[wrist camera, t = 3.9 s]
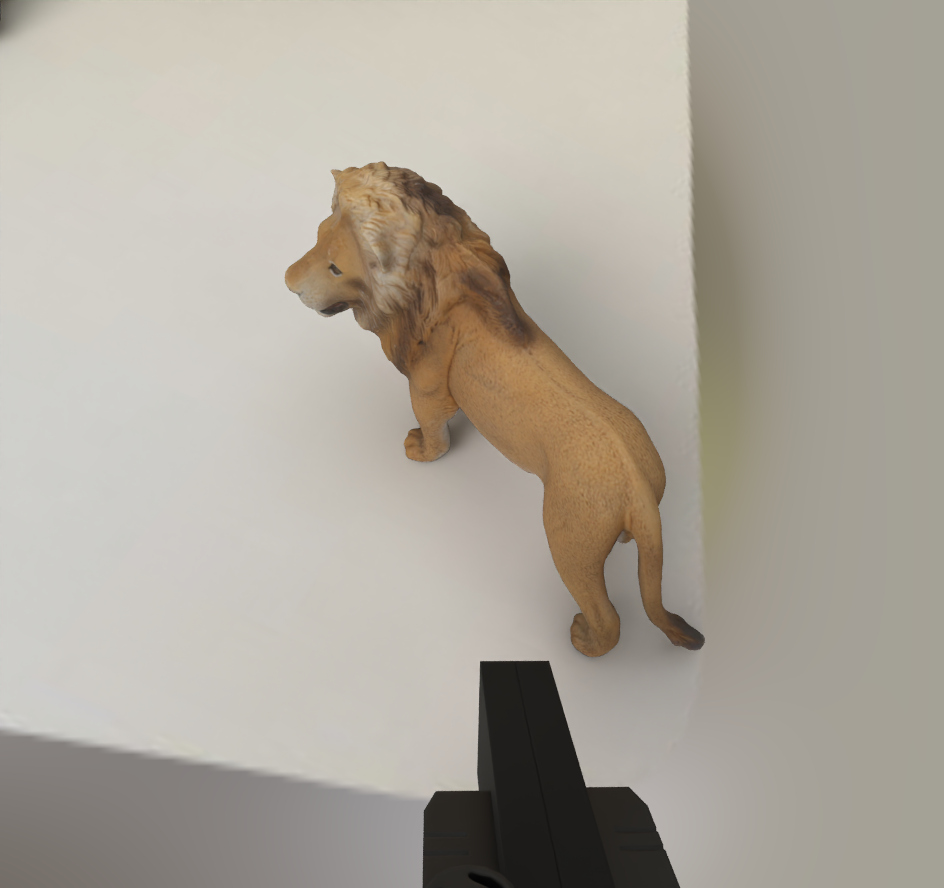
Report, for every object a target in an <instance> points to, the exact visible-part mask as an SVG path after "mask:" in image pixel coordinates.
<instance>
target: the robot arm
mask: <svg viewBox="0 0 944 888" xmlns="http://www.w3.org/2000/svg"><path fill="white" fill-rule="evenodd" d="M477 774H478V786H479V791H436V792H435V793H434V795H433V797H432V798H431V800H430V802H429V803H428V805H427V807H426V808H425V810H424V838H423V841H424V842H423V888H680V886H679V884H678V881H677V879H676V876H675V874H674V871H673V869H672V866H671V864H670V861H669V858H668V856H667V853H666V851H665V850H664V849H663V843H662V841H661V838H660V836H659V834H658V832H657V831H656V826H655V823H654V821H653V818H652V816H651V813H650V811H649V808H648V806H647V805H646V804H645V803H644V802H643V801H642V800H641V799H640V798H639V797H638V796H637V795H636V794H635V793H634V792H633V791H632V790H631V789H630V788H629V787H586V786H585V782H584V779H583V775H582V772H581V769H580V765H579V762H578V758H577V755H576V752H575V748H574V745H573V741H572V738H571V735H570V731H569V728H568V724H567V721H566V718H565V714H564V711H563V707H562V704H561V701H560V697H559V694H558V690H557V687H556V684H555V680H554V677H553V673H552V670H551V667H550V663H549V661H480V690H479V729H478V768H477Z"/></svg>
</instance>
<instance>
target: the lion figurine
mask: <svg viewBox="0 0 944 888" xmlns="http://www.w3.org/2000/svg"><path fill="white" fill-rule="evenodd" d="M331 173H332V174H333V176H334V179H335V183H336V184H335V190H334V195H333V198H332V206H331V208H332V212H333V214H332V215H331V216H329V217H328V218H327V219H325V220H324V221H323V222H322V223H321V224H320V225H319V227H318V240H317V244H316V245H315V247H314V248H312V249H311V250H310V251H308V252H307V253H306V254H305V255H304V256H303V257H302V258H301V259H300V260H298V261H297V262H295V263H294V264H292V265H291V266H290V267H289V268H288V269H287V271H286V273H285V283H286V285H287V287H288V288H289V290H290V291H292V292H293V293H296V294H298V296H299V298H300V299H301V301H302V302H303V303H304V304H305V305H306V306H307V307H309V308H311V309H314V310H316V311H317V313H318V314H319V315H321V316H323V317H331V316H333V315H335V314H337V313H339V312H343V311H345V310H347V309H349V308H353V313H354V317H355V320H356V321H357V322H358V324H359V325H360V327H362V328H363V329H365V330H370V331H371V332H373V333H375V334H376V335H377V336H378V337H379V338H380V340H381V345H382V349H383V351H384V353H385V355H386V357H387V358H388V360H389V361H391V362H392V363H393V364H394V365H395V366H396V368H397V369H398V370H399V371H400V372H401V373H402V374H404V375H405V376H407V378H408V380H409V389H410V396H411V402H412V407H413V411H414V414H415V416H416V419H417V421H418V422H419V424H420V428H418V429H411V430H410V431H409V432H408V437H407V438H406V439H405V442H404V446H405V448H406V456H407V457H408V458H410V459H412V460H416V461H421V462H427V461H434V460H437V459H438V458H440V457H441V456H442V455H443V454H445V453H446V452H448V450H449V446H450V431H449V425H448V420H450V419H451V418H453V417H454V416H455V414H456V412H457V411H458V409H459V408H461V409H462V411H463V412H464V413H465V414H466V416H467V417H468V418H469V420H470V421H471V422H472V423H473V424H474V426H475V427H476V428H477V429H478V430H479V432H480V433H481V434H482V435H483V436H484V437H485V438H486V439H487V440H488V441H489V442H490V443H491V444H492V445H493V446H495V447H496V448H497V449H498V450H499V451H500V452H501V453H502V454H503V455H504V456H505V457H507V458H508V459H509V460H510V461H511V462H513V463H514V464H516V465H517V466H518V467H520V468H521V469H523V470H525V471H526V472H528V473H533V474H536V475H537V476H538V477H539V478H540V479H541V480H542V482H543V484H544V502H543V522H544V528H545V531H546V535H547V539H548V543H549V548H550V551H551V554H552V558H553V561H554V563H555V566H556V568H557V570H558V572H559V574H560V576H561V578H562V580H563V582H564V584H565V585H566V587H567V588H568V590H569V591H570V593H571V594H572V596H573V598H574V599H575V601H576V602H577V604H578V605H579V607H580V609H581V611H582V613H579V614H576V615H575V616H574V621H573V624H572V626H571V628H570V632H571V641H572V644H573V645H574V647H575V648H576V649H577V650H578V651H580V652H581V653H583V654H585V655H587V656H590V657H597V656H601V655H603V654H605V653H607V652H609V651H610V650H611V649H613V648H614V647H615V646H616V644H617V643H618V641H619V638H620V618H619V616H618V614H617V612H616V610H615V608H614V606H613V605H612V603H611V602H610V600H609V598H608V595H607V591H606V586H605V579H604V564H605V560H606V558H607V556H608V555H609V553H610V552H611V550H612V548H613V546H614V544H615V542H616V541H617V542H619V543H622V544H624V543H628V542H630V541H631V539H635V541H636V543H637V547H638V578H639V585H640V592H641V597H642V602H643V606H644V609H645V612H646V614H647V616H648V618H649V619H650V621H651V622H652V623H653V624H654V625H656V626H657V627H659V628H660V629H661V630H662V631H663V632H664V633H665V634H666V636H667V637H668V638H669V639H670V641H671V642H672V643H673V644H674V645H675V646H682V647H684V648H687V649H689V650H698V649H701V647H702V646H703V644H704V641H705V638H704V636H703V635H702V634H701V633H700V632H698V631H697V630H696V629H694V628H693V627H691V626H690V625H689V624H687V623H686V622H685V620H684V619H683V618H681V617H680V616H678V615H676V614H672V613H670V612H668V611H666V610H665V609H664V607H663V605H662V596H661V580H662V565H663V544H662V527H661V519H660V512H659V508H658V506H659V504H660V501H661V499H662V497H663V493H664V489H665V485H666V477H665V470H664V466H663V463H662V460H661V458H660V456H659V454H658V452H657V450H656V448H655V446H654V445H653V443H652V441H651V439H650V437H649V436H648V434H647V432H646V430H645V428H644V426H643V425H642V423H641V422H640V420H639V419H638V418H637V417H636V416H635V415H634V413H633V412H631V411H630V410H629V409H628V408H626V407H625V406H623V405H622V404H620V403H619V402H618V401H616V400H615V399H613V398H612V397H610V396H609V395H608V394H606V393H605V392H603V391H602V390H601V389H599V388H598V387H597V386H595V385H594V384H593V383H592V382H591V381H590V380H589V379H588V378H587V377H586V376H585V375H584V374H583V373H582V372H581V371H580V370H579V369H578V368H577V367H576V366H575V365H574V363H573V362H572V361H571V360H570V359H569V358H568V357H567V356H566V355H565V354H564V352H563V351H562V350H561V349H560V348H559V347H558V346H557V345H556V344H555V343H554V342H553V341H552V340H551V339H550V338H549V337H548V336H547V335H546V334H545V333H544V332H543V331H542V330H541V329H540V328H539V327H538V326H537V324H536V323H535V322H534V321H533V320H532V319H531V318H530V317H529V316H528V315H527V314H526V313H525V312H524V310H523V309H522V307H521V306H520V304H519V302H518V300H517V298H516V296H515V294H514V292H513V290H512V289H511V287H510V274H509V270H508V268H507V265H506V263H505V261H504V259H503V257H502V256H501V255H500V254H499V253H498V252H496V251H495V250H494V249H493V247H492V246H491V245H490V237H489V236H488V235H487V234H486V233H485V232H483V231H481V230H480V229H479V228H478V227H477V225H476V224H474V223H473V222H472V221H471V219H470V217H469V216H468V215H467V214H466V212H465V211H464V210H463V209H461V208H460V207H458V206H456V205H455V204H454V203H453V202H452V201H451V200H450V199H449V198H448V197H447V196H444V195H442V189H441V188H440V187H439V186H437V185H436V184H433V183H430V182H426V181H425V180H424V179H423V177H421V176H419V175H418V174H417V173H416V172H413V171H411V170H409V169H406V168H398V167H388V166H387V165H386V164H385V163H384V162H378V163H370V164H368V165H366V166H364V167H362V168H360V169H359V168H356V167H349V168H347V169H345V170H344V171H340V170H331Z"/></svg>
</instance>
